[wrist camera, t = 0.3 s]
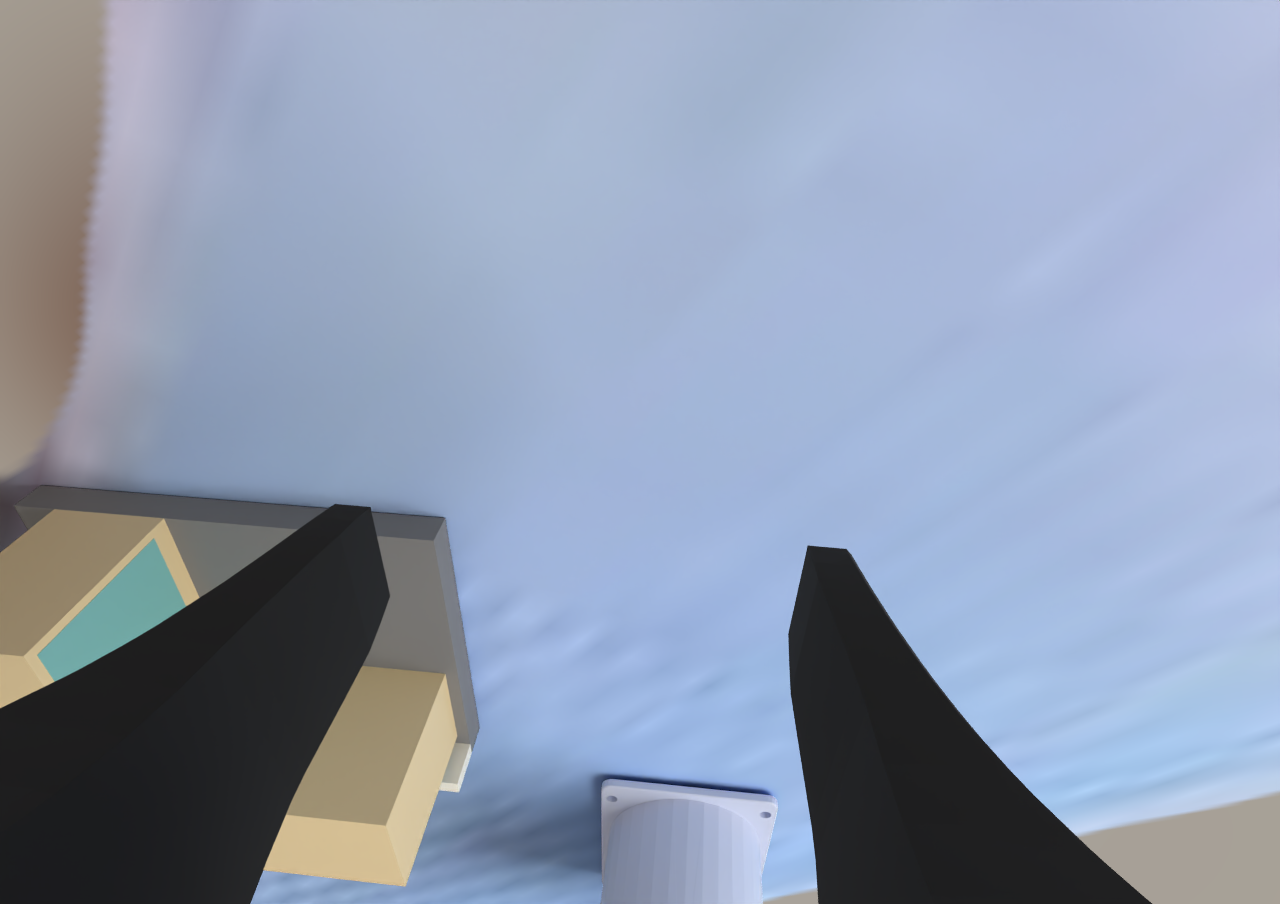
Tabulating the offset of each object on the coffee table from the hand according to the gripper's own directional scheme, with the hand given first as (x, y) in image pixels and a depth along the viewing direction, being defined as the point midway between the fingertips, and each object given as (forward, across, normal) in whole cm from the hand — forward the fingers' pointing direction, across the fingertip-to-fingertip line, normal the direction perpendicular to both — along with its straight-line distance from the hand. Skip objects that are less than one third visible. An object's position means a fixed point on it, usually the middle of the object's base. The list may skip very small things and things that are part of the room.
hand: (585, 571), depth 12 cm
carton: (+9, +18, +11) cm, 23 cm away
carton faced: (+9, +10, +17) cm, 21 cm away
